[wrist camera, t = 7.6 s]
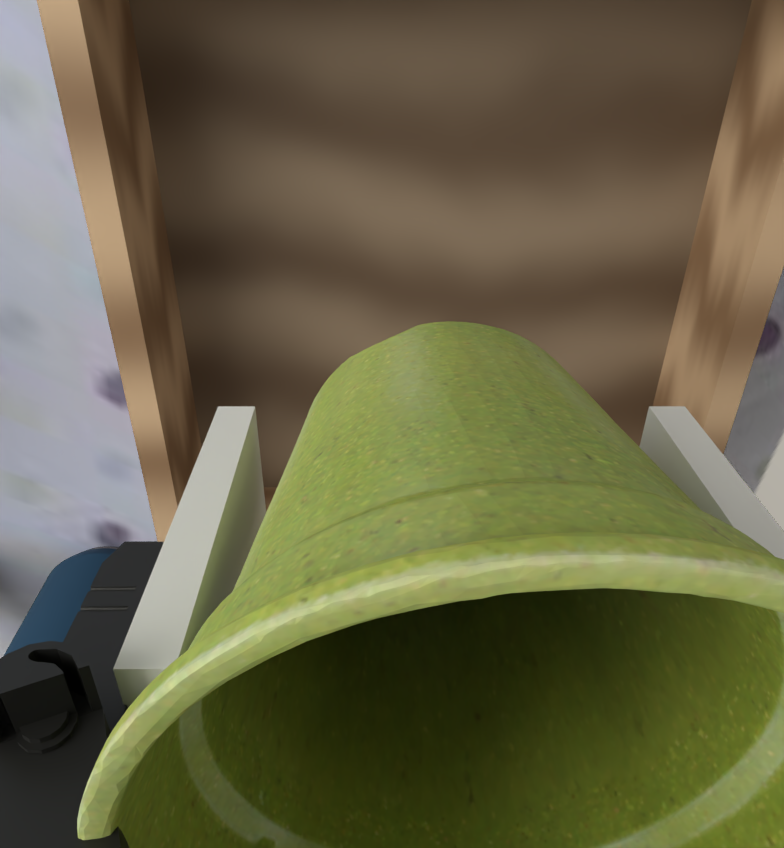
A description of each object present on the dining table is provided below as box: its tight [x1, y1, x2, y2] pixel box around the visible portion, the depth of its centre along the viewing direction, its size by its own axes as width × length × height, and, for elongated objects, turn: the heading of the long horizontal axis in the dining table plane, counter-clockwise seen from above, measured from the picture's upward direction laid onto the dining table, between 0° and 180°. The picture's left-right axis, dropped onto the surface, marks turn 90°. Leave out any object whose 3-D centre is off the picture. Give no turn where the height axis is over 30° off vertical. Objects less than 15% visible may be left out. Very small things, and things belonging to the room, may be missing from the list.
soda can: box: [4, 547, 118, 656], centre depth 35 cm, size 7×7×12 cm
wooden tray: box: [37, 0, 784, 542], centre depth 29 cm, size 25×25×6 cm
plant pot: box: [77, 321, 784, 848], centre depth 11 cm, size 9×9×9 cm
